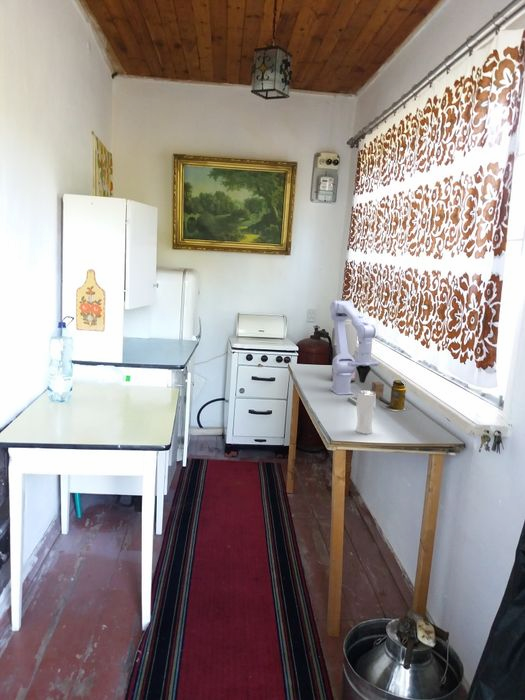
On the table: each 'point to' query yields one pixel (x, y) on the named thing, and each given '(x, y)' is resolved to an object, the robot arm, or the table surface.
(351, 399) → the panel
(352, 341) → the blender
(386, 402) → the dark gray rod
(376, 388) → the walnut block
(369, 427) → the beer glass
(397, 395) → the condiment
